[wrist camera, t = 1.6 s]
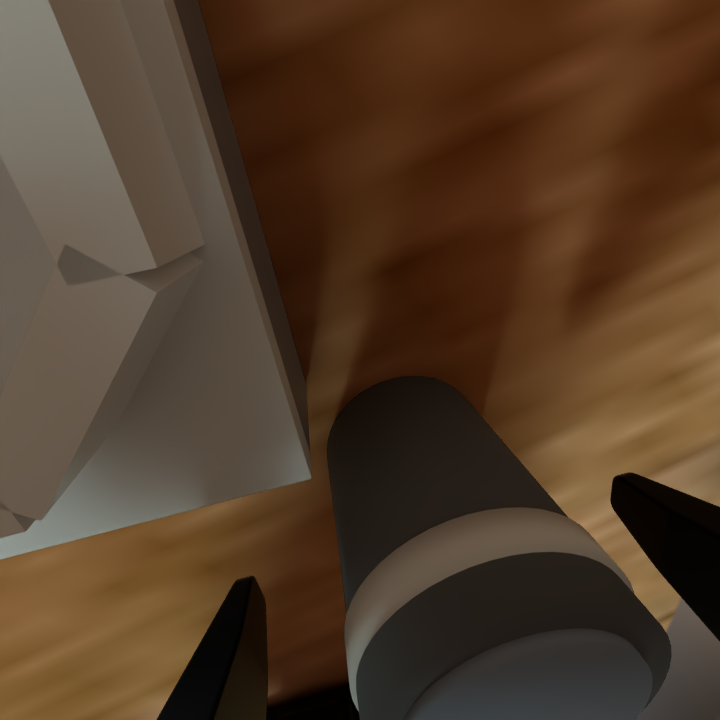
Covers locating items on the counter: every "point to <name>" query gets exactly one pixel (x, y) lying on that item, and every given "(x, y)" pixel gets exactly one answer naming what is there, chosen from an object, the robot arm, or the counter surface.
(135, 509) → the octagonal ring tray
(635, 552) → the counter surface
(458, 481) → the lens
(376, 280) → the counter surface
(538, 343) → the counter surface
